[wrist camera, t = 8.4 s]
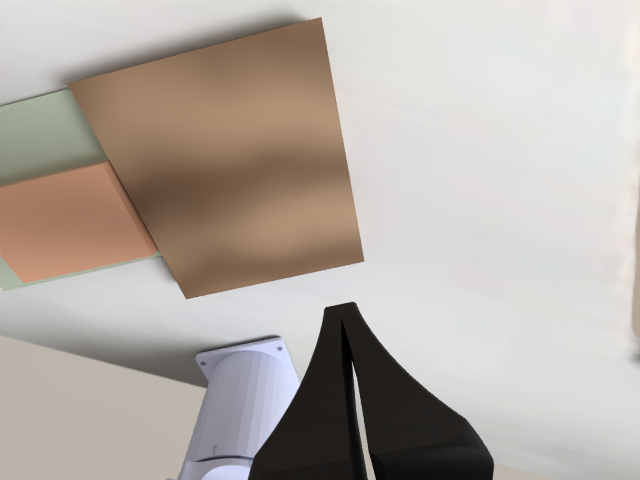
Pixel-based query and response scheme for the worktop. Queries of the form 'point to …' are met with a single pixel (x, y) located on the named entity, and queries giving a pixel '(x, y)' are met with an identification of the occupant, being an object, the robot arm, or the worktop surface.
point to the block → (233, 158)
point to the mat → (46, 153)
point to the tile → (70, 223)
